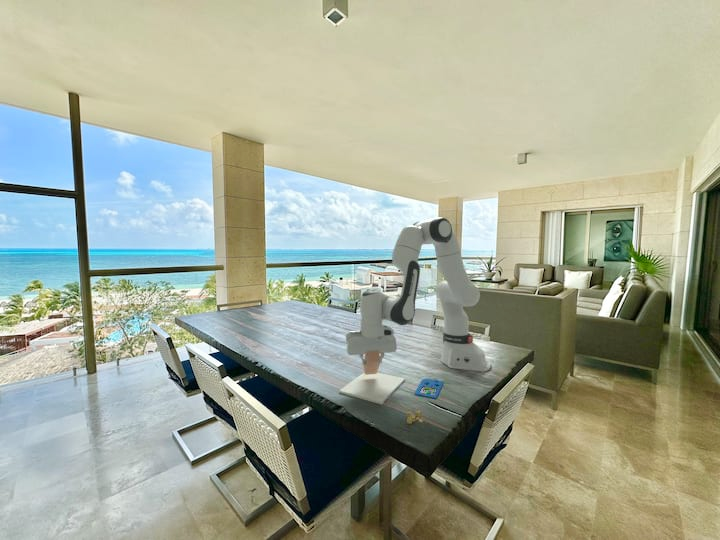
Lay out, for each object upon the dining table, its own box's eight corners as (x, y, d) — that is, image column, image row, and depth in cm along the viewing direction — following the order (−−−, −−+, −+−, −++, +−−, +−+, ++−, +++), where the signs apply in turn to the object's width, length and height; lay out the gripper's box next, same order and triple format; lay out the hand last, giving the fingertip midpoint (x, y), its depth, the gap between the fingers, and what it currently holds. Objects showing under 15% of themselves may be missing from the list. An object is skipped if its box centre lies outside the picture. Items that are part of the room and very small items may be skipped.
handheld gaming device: (443, 380, 120) (436, 397, 106) (443, 383, 120) (436, 400, 106) (423, 377, 123) (413, 392, 110) (423, 379, 124) (413, 395, 110)
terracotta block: (374, 362, 127) (378, 349, 118) (376, 373, 124) (380, 361, 115) (363, 363, 126) (366, 350, 117) (364, 374, 123) (368, 362, 114)
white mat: (404, 380, 122) (404, 378, 122) (381, 404, 103) (381, 402, 103) (366, 371, 131) (366, 370, 131) (339, 392, 112) (339, 390, 112)
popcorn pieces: (407, 426, 91) (407, 420, 91) (404, 416, 96) (404, 411, 96) (423, 425, 91) (423, 419, 91) (420, 416, 97) (420, 410, 96)
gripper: (346, 333, 114) (347, 368, 115) (397, 330, 117) (398, 364, 118) (345, 329, 120) (345, 362, 121) (393, 326, 123) (393, 359, 124)
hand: (371, 363), depth 120 cm, fingers closed on terracotta block, 5 cm apart
